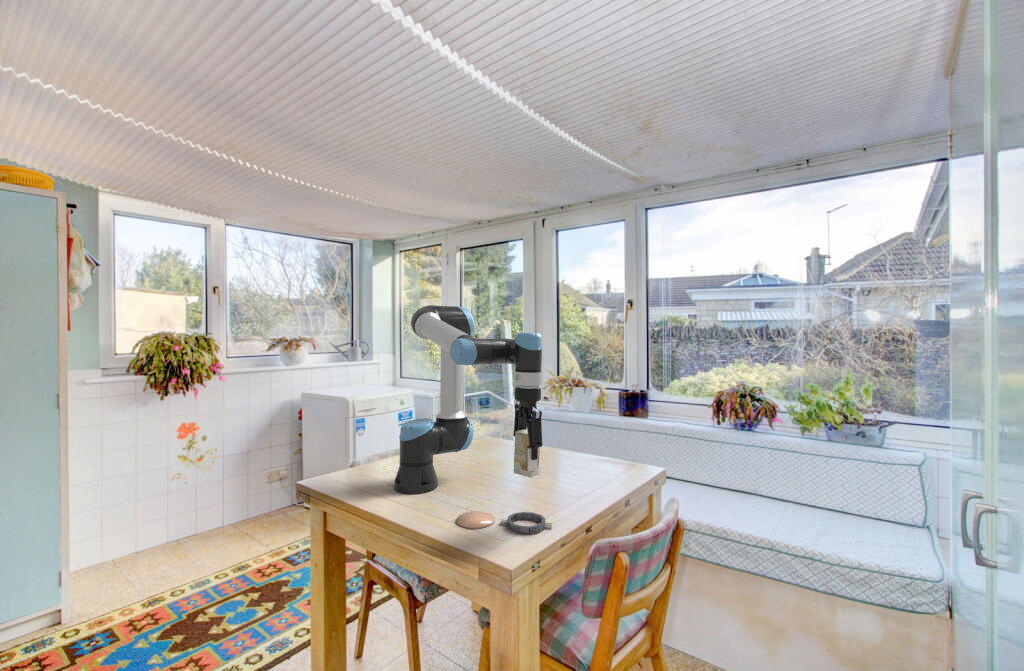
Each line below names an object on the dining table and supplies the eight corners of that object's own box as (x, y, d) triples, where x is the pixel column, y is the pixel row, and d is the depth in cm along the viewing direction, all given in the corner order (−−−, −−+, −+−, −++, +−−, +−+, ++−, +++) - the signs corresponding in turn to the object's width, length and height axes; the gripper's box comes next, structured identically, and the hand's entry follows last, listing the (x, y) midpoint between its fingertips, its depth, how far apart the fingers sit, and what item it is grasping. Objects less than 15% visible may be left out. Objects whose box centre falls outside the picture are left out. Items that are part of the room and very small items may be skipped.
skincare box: (513, 473, 129) (513, 431, 129) (521, 470, 133) (522, 428, 133) (531, 478, 125) (532, 434, 125) (540, 474, 129) (540, 431, 129)
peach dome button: (452, 527, 127) (452, 525, 127) (461, 512, 138) (461, 510, 138) (490, 530, 126) (490, 528, 126) (497, 514, 137) (497, 512, 137)
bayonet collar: (498, 532, 125) (498, 525, 125) (503, 516, 135) (503, 510, 135) (550, 535, 123) (551, 529, 123) (552, 519, 133) (552, 513, 133)
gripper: (502, 383, 137) (501, 458, 137) (530, 391, 118) (529, 478, 118) (525, 382, 140) (524, 456, 140) (556, 390, 121) (554, 475, 121)
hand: (526, 466), depth 129 cm, fingers closed on skincare box, 7 cm apart
